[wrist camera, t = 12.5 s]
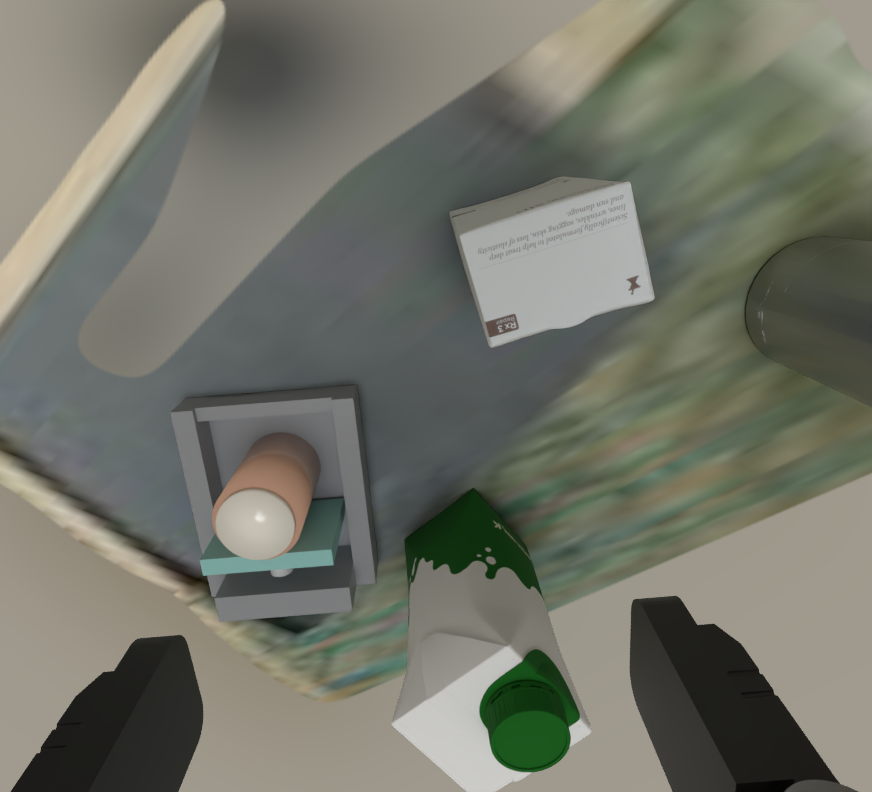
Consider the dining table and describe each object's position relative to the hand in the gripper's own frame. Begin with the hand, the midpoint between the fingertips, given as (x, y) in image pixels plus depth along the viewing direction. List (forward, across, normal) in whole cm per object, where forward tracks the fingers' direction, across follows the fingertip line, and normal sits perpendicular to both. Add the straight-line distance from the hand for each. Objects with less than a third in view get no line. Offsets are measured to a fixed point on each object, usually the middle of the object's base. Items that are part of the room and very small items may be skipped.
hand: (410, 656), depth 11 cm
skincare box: (+34, -7, -4) cm, 35 cm away
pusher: (+33, +11, +15) cm, 38 cm away
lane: (+34, +11, +13) cm, 38 cm away
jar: (+33, +11, +11) cm, 37 cm away
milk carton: (+34, -2, +19) cm, 39 cm away
